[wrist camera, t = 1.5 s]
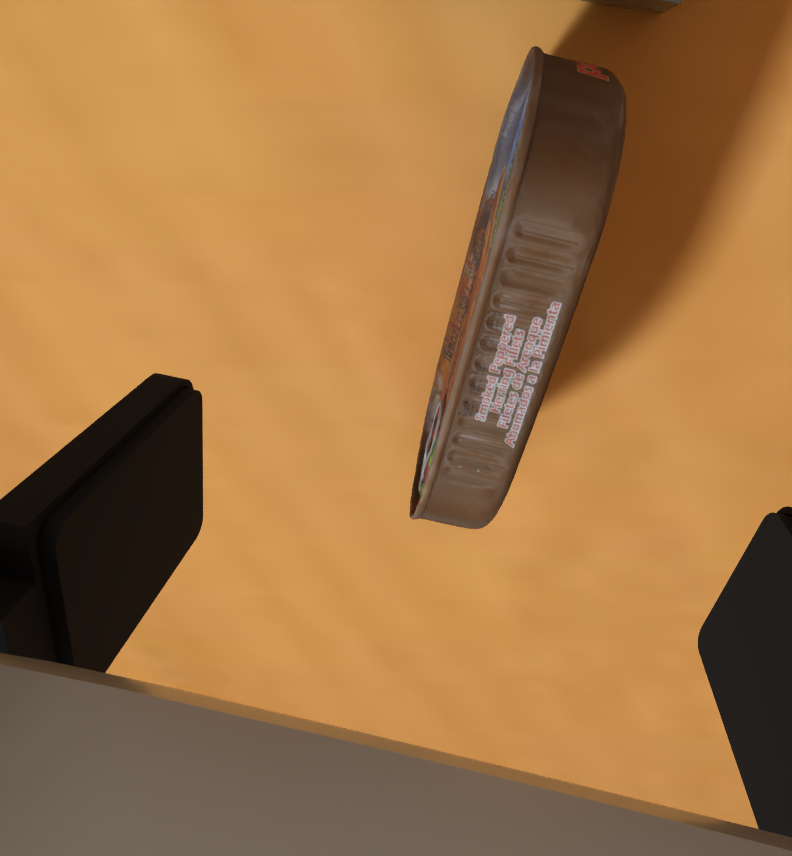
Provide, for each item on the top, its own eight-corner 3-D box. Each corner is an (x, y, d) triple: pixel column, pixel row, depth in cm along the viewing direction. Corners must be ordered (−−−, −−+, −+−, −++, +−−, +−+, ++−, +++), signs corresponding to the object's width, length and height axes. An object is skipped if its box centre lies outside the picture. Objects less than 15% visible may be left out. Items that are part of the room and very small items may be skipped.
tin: (520, 52, 20) (523, 29, 13) (615, 74, 20) (673, 64, 13) (417, 439, 28) (382, 564, 20) (486, 458, 28) (475, 590, 20)
